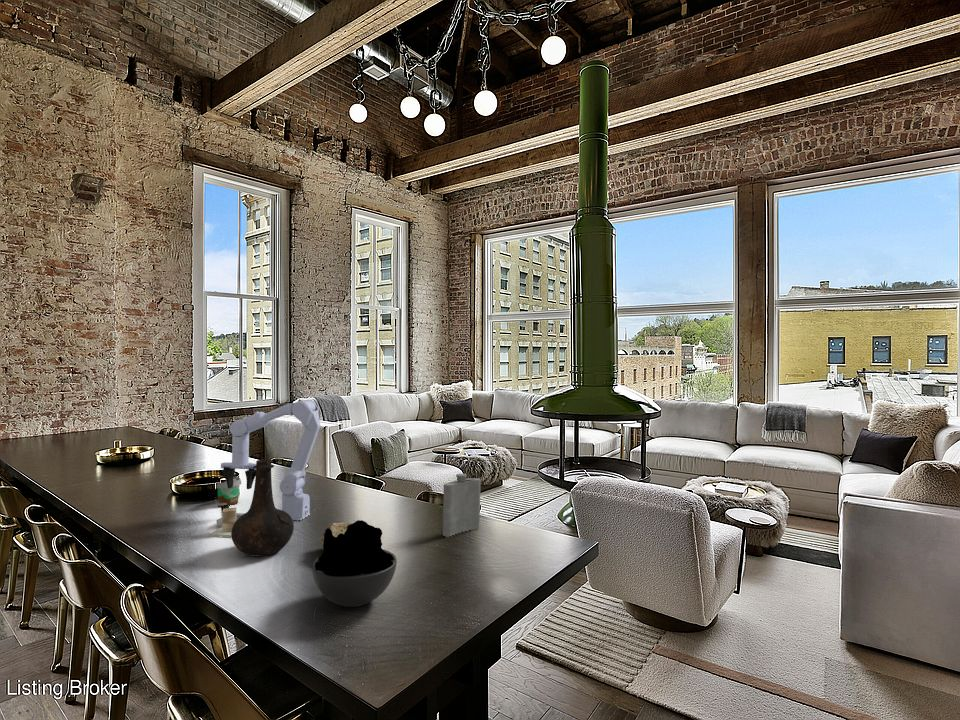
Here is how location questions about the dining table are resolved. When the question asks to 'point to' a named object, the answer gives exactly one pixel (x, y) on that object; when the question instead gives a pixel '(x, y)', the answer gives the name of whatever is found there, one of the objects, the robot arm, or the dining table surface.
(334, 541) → the bowl of black rocks
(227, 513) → the maple peg
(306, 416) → the robot arm
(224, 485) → the food container
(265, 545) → the glass bottle
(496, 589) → the dining table surface
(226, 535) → the ceramic tile
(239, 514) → the white flat frame
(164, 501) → the dining table surface
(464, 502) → the hip flask
